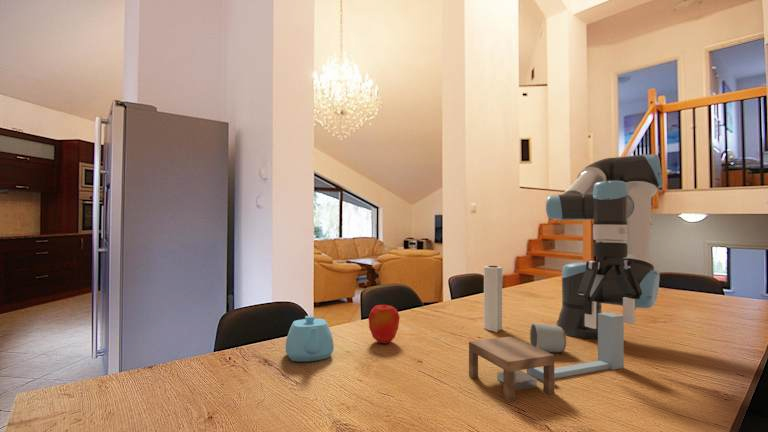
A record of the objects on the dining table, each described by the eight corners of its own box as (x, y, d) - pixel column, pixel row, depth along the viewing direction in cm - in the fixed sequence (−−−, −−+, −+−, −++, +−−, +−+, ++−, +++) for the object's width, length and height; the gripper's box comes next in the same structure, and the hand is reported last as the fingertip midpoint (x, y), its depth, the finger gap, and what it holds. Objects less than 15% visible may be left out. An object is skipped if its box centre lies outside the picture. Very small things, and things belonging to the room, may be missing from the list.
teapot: (288, 328, 90) (284, 311, 107) (288, 373, 90) (283, 349, 107) (340, 323, 94) (328, 308, 111) (340, 367, 94) (327, 344, 111)
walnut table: (510, 369, 93) (510, 336, 93) (554, 392, 80) (554, 355, 80) (468, 375, 89) (469, 341, 89) (508, 402, 76) (508, 362, 76)
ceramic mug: (568, 356, 103) (567, 327, 103) (536, 355, 103) (536, 326, 104) (554, 344, 113) (554, 318, 113) (526, 343, 114) (526, 317, 114)
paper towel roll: (487, 325, 133) (487, 264, 134) (504, 328, 130) (504, 266, 130) (479, 330, 127) (479, 266, 128) (497, 333, 124) (497, 268, 124)
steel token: (518, 377, 89) (518, 369, 89) (536, 388, 84) (536, 379, 84) (497, 381, 87) (497, 372, 87) (515, 392, 81) (515, 382, 81)
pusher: (603, 360, 100) (603, 310, 100) (629, 369, 93) (629, 317, 94) (526, 373, 91) (526, 318, 91) (549, 384, 84) (549, 326, 84)
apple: (363, 344, 111) (363, 303, 111) (375, 336, 119) (375, 298, 120) (393, 349, 107) (393, 306, 108) (403, 340, 116) (403, 300, 116)
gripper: (586, 241, 88) (586, 333, 88) (658, 242, 97) (658, 325, 97) (561, 240, 95) (560, 325, 95) (630, 241, 104) (630, 318, 104)
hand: (610, 325), depth 96 cm, fingers open, 13 cm apart
